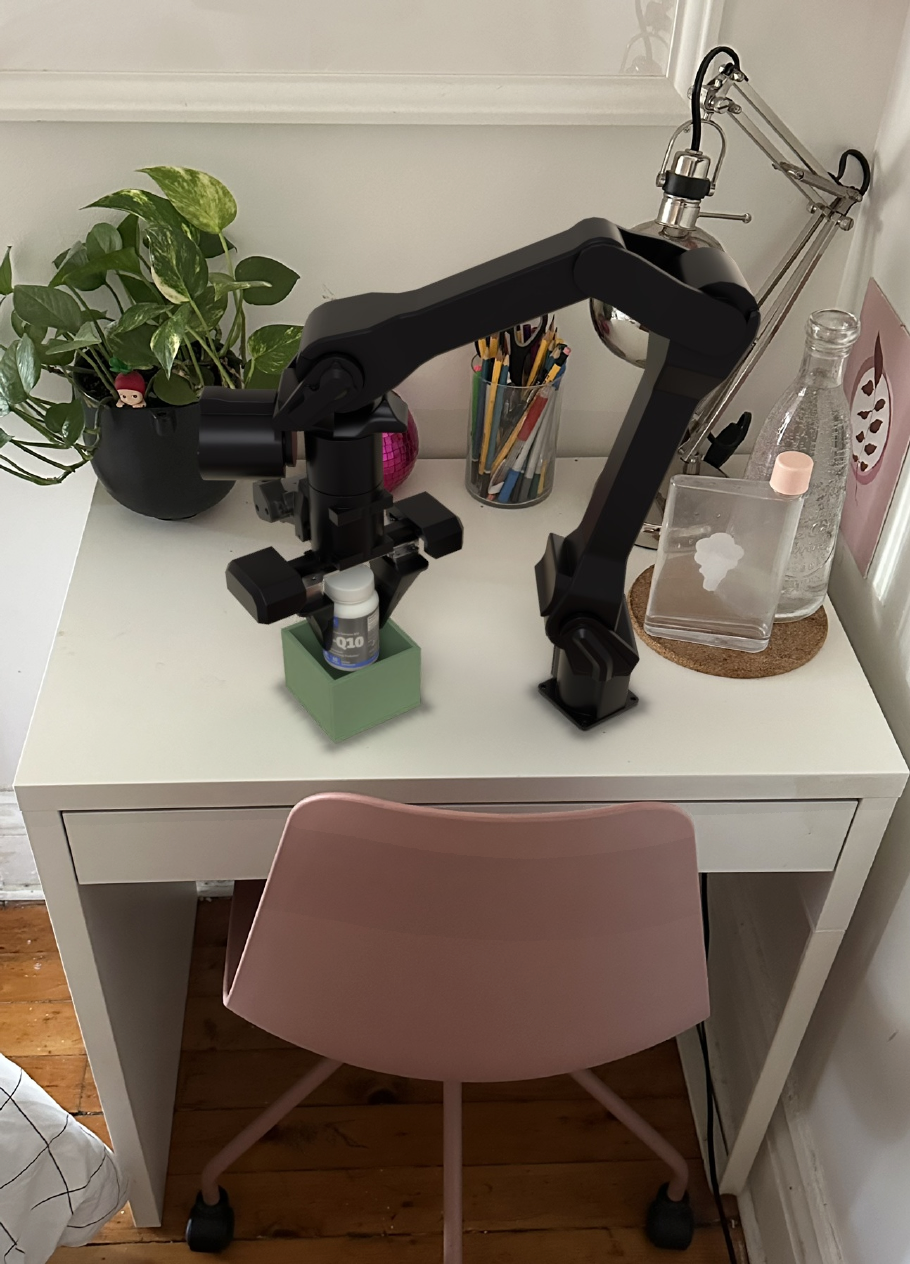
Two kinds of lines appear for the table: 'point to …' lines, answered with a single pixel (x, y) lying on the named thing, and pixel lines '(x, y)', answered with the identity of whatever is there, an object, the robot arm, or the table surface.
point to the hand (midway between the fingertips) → (351, 636)
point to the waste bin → (352, 681)
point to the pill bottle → (353, 619)
